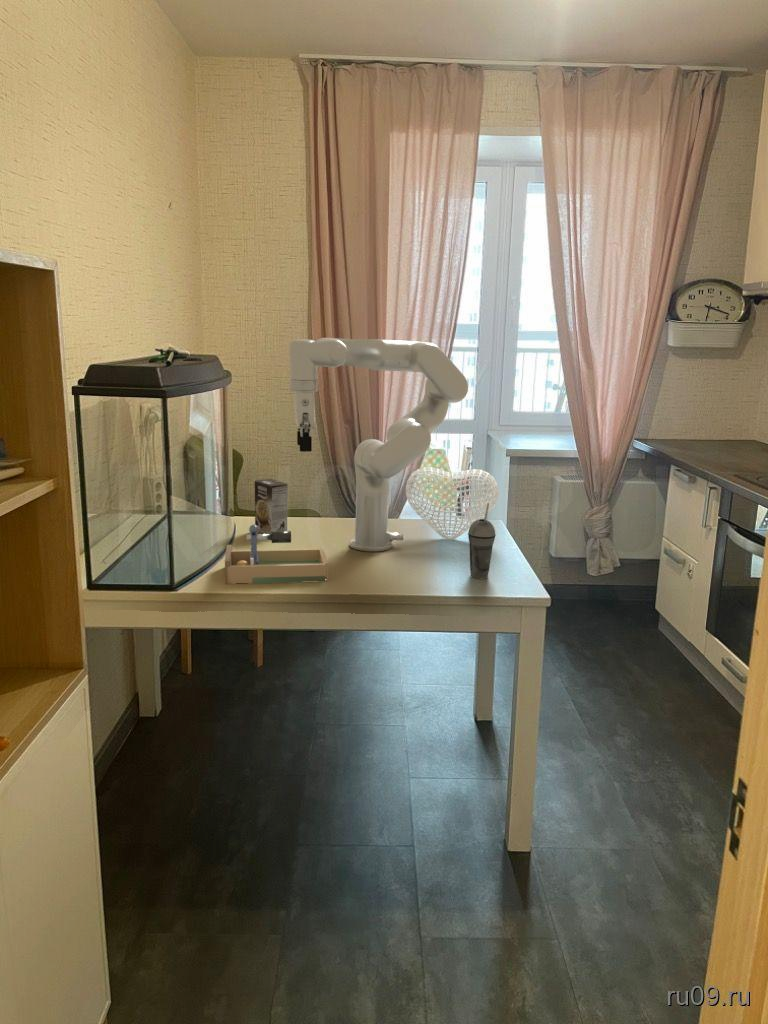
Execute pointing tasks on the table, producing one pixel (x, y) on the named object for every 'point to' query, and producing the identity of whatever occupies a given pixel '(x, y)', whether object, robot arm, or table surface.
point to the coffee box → (271, 505)
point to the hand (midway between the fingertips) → (304, 448)
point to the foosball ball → (242, 563)
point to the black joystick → (274, 537)
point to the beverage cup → (481, 546)
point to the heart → (448, 474)
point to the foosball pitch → (276, 566)
